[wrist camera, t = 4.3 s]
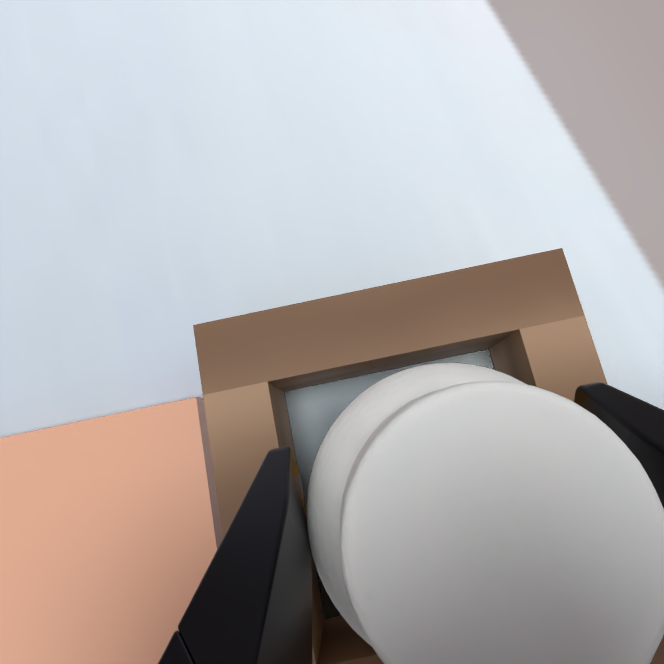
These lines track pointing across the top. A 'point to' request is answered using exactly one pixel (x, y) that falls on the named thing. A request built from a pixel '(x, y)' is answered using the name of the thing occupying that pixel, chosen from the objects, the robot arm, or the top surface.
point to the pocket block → (382, 368)
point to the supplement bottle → (486, 525)
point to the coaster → (104, 535)
